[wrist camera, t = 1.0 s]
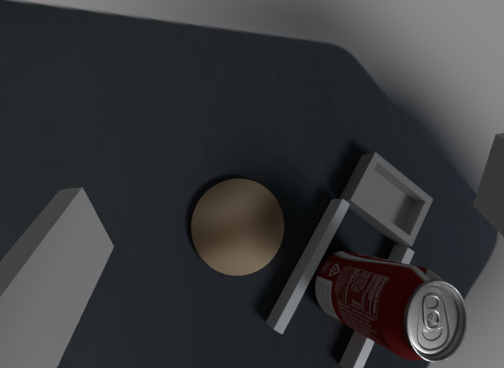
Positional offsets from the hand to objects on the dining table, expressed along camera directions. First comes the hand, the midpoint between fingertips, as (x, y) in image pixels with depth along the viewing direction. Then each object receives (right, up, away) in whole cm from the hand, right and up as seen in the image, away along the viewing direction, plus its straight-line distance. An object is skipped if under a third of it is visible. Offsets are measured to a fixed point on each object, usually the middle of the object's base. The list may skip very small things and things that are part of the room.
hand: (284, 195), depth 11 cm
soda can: (+8, -10, +23) cm, 26 cm away
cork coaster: (-2, -4, +20) cm, 20 cm away
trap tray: (+13, -1, +25) cm, 28 cm away
